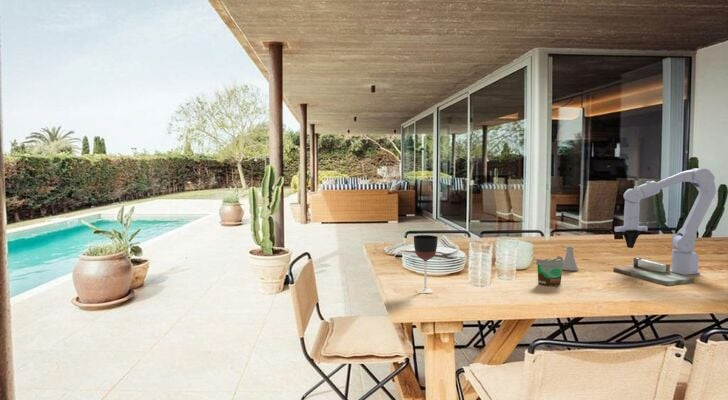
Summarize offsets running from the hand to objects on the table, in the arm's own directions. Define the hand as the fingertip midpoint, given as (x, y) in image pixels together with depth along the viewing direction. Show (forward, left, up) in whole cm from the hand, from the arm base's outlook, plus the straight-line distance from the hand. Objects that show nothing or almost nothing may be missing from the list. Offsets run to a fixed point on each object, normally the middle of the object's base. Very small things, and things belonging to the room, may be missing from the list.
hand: (630, 247), depth 195 cm
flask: (+25, -8, -10) cm, 28 cm away
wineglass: (+99, +2, -10) cm, 100 cm away
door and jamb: (+3, +13, -9) cm, 16 cm away
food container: (+49, +10, -10) cm, 51 cm away
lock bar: (-1, +9, -8) cm, 11 cm away
